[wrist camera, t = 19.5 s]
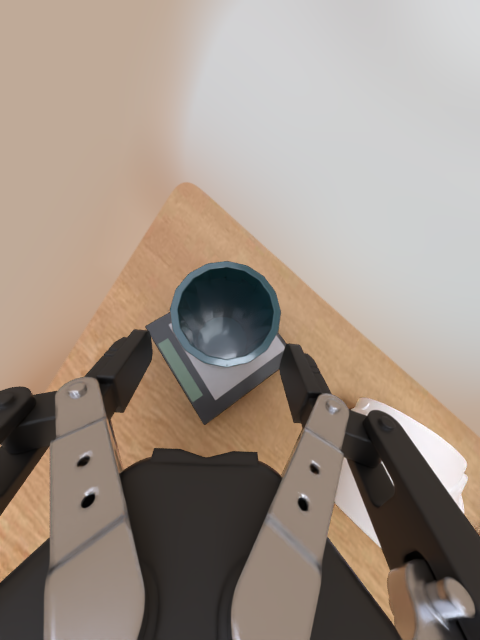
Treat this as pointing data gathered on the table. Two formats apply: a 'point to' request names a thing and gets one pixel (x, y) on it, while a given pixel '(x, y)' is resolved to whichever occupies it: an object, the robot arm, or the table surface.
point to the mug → (348, 497)
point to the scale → (212, 372)
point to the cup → (225, 314)
